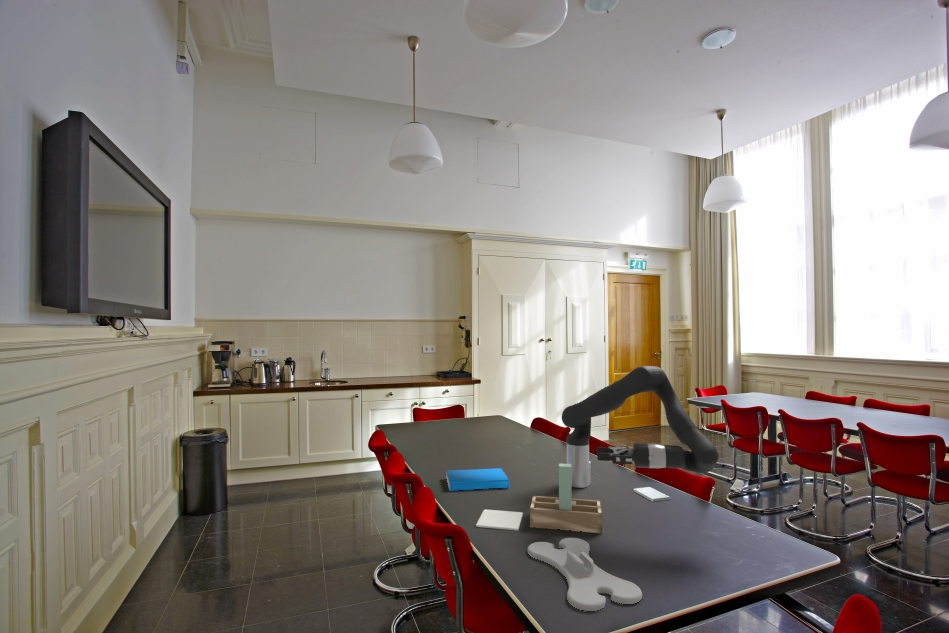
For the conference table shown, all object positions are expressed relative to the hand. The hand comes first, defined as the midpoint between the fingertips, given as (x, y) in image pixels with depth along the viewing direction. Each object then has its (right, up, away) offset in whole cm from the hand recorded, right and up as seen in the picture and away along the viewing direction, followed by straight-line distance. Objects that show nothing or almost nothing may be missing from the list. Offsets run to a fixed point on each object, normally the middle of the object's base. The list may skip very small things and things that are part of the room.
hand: (597, 453), depth 153 cm
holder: (-12, -24, -28) cm, 39 cm away
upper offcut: (-9, -22, +7) cm, 25 cm away
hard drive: (+30, -26, +30) cm, 50 cm away
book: (-40, -27, +45) cm, 66 cm away
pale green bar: (-10, -25, +1) cm, 27 cm away
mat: (-32, -25, +6) cm, 41 cm away
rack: (-9, -25, +4) cm, 27 cm away
